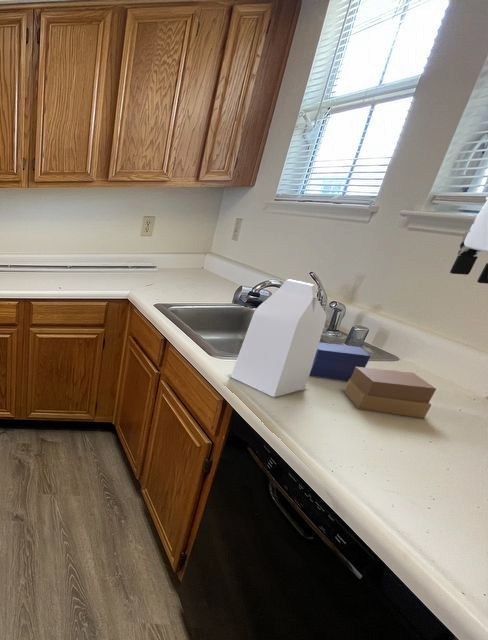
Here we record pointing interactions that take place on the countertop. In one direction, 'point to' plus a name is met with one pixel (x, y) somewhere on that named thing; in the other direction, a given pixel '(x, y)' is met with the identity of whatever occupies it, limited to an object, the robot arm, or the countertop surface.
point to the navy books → (333, 369)
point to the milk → (282, 340)
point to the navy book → (342, 353)
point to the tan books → (390, 391)
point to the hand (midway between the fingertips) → (472, 278)
